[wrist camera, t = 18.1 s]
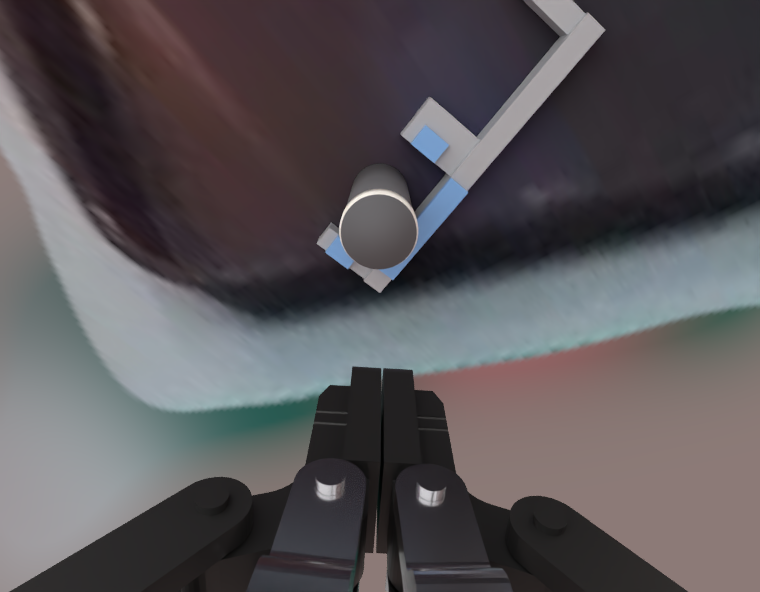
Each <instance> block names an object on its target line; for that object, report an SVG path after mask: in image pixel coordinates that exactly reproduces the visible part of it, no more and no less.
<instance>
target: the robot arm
mask: <svg viewBox="0 0 760 592" xmlns="http://www.w3.org/2000/svg"><path fill="white" fill-rule="evenodd" d="M376 511H377V541H376V542H377V543H376V544H377V545H376V552H377V553H386V554H387V576H386V586H385V592H687V591H686V590H685V589H684V588H682V587H681V586H679V585H678V584H677V583H675V582H673V581H672V580H671V579H670V578H668V577H667V576H665V575H664V574H662V573H661V572H660V571H658V570H657V569H655V568H654V567H653V566H651V565H650V564H649V563H647V562H646V561H644V560H643V559H642V558H640V557H639V556H637V555H636V554H635V553H633V552H632V551H631V550H629V549H628V548H626V547H625V546H624V545H622V544H621V543H619V542H618V541H617V540H615V539H614V538H612V537H611V536H609V535H608V534H607V533H605V532H604V531H602V530H601V529H600V528H598V527H597V526H596V525H594V524H593V523H591V522H590V521H589V520H587V519H586V518H584V517H583V516H582V515H580V514H579V513H578V512H576V511H575V510H573V509H572V508H570V507H569V506H567V505H566V504H564V503H562V502H560V501H557V500H555V499H552V498H548V497H542V496H529V497H525V498H522V499H520V500H518V501H517V502H515V503H514V505H513V506H512V508H511V510H507V509H504V508H501V507H497V506H494V505H491V504H488V503H486V502H483V501H481V500H479V499H477V498H476V497H474V496H472V495H471V494H470V493H469V492H468V491H467V488H466V486H465V483H464V482H463V480H462V479H461V478H460V477H459V476H458V475H457V474H456V471H455V465H454V460H453V454H452V449H451V443H450V438H449V433H448V427H447V421H446V416H445V411H444V406H443V403H442V402H441V400H440V399H439V398H438V397H437V396H436V395H435V393H434V392H433V391H422V390H414V380H413V371H412V370H403V369H386V368H384V369H383V379H382V391H381V368H368V367H352V377H351V386H337V385H330V386H329V387H328V388H327V389H326V390H325V391H324V392H323V393H322V394H321V395H320V396H319V399H318V404H317V409H316V414H315V420H314V424H313V430H312V435H311V440H310V444H309V449H308V455H307V460H306V464H305V466H304V467H303V468H301V469H300V470H299V472H298V473H297V475H296V477H295V479H294V482H293V483H291V484H290V485H288V486H286V487H284V488H282V489H279V490H277V491H273V492H269V493H264V494H258V495H253V496H252V495H251V492H250V490H249V489H248V487H247V486H246V485H245V484H243V483H241V482H240V481H238V480H235V479H232V478H227V477H214V478H208V479H203V480H200V481H198V482H195V483H193V484H191V485H190V486H188V487H186V488H185V489H183V490H181V491H179V492H178V493H176V494H174V495H172V496H171V497H169V498H167V499H166V500H164V501H162V502H161V503H159V504H157V505H156V506H154V507H152V508H150V509H149V510H147V511H145V512H144V513H142V514H140V515H139V516H137V517H135V518H134V519H132V520H130V521H128V522H127V523H125V524H123V525H122V526H120V527H118V528H117V529H115V530H113V531H112V532H110V533H108V534H106V535H105V536H103V537H102V538H100V539H98V540H96V541H95V542H93V543H91V544H90V545H88V546H86V547H85V548H83V549H81V550H80V551H78V552H76V553H74V554H73V555H71V556H69V557H68V558H66V559H64V560H62V561H61V562H59V563H57V564H56V565H54V566H52V567H51V568H49V569H47V570H46V571H44V572H42V573H40V574H39V575H37V576H35V577H34V578H32V579H30V580H29V581H27V582H25V583H24V584H22V585H20V586H18V587H17V588H15V589H13V590H12V591H10V592H359V581H360V579H361V577H362V574H363V570H364V558H365V553H373V548H374V536H375V523H376Z"/></svg>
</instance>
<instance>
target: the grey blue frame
mask: <svg viewBox="0 0 760 592" xmlns="http://www.w3.org/2000/svg"><path fill="white" fill-rule="evenodd" d="M523 1H524V2H525V3H526V4H527V5H528V6H529V7H530V8H531V9H532V10H533V11H534V12H535V13H536V14H537V15H538V16H539V17H540V18H541V19H542V20H543V21H544V22H545V23H546V24H548V25H549V26H550V27H551V28H552V29H553V30H554V31H555V32H556V33H557V34H558V35H559V36H560V37H559V39H558V40H557V41H556V42H555V43H554V45H553V46H552V47H551V48H550V49H549V51H548V52H547V53H546V54H545V55H544V57H543V58H542V59H541V60H540V61H539V63H538V64H537V65H536V66H535V67H534V69H533V70H532V71H531V72H530V73H529V75H528V76H527V77H526V78H525V79H524V81H523V82H522V83H521V84H520V85H519V87H518V88H517V89H516V90H515V91H514V93H513V94H512V95H511V96H510V97H509V99H508V100H507V101H506V102H505V103H504V105H503V106H502V107H501V108H500V109H499V111H498V112H497V113H496V114H495V115H494V117H493V118H492V119H491V120H490V121H489V123H488V124H487V125H486V126H485V127H484V129H483V130H482V131H481V132H480V133H479V135H478V136H477V137H476V136H475V135H473V134H472V133H471V132H470V131H469V130H468V129H467V128H465V127H464V126H463V125H462V124H461V123H460V122H458V121H457V120H456V119H455V118H454V117H453V116H452V115H450V114H449V113H448V112H447V111H446V110H445V109H444V108H442V107H441V106H440V105H439V104H438V103H437V102H436V101H434V100H433V99H432V98H431V97H428V99H427V100H426V101H425V102H424V104H423V105H422V106H421V108H420V109H419V110H418V111H417V113H416V114H415V115H414V117H413V118H412V119H411V120H410V122H409V123H408V124H407V126H406V127H405V128H404V129H403V131H402V132H401V135H402V136H403V137H404V138H405V139H406V140H407V141H409V142H410V143H411V144H412V145H413V146H414V147H415V148H416V149H418V150H419V151H420V152H421V153H422V154H424V155H425V156H426V157H427V158H428V159H430V160H431V161H432V162H433V163H435V164H436V165H437V166H439V167H440V168H441V169H442V170H443V171H445V172H446V174H445V176H444V177H443V178H442V179H441V180H440V182H439V183H438V184H437V185H436V186H435V188H434V189H433V190H432V191H431V192H430V194H429V195H428V196H427V197H426V198H425V200H424V201H423V202H422V203H421V204H420V206H419V207H418V208H417V209H416V210H415V215H416V219H417V223H418V239H417V243H416V245H415V248H414V249H413V251H412V253H411V254H410V255H409V256H408V257H407V258H406V259H405V260H404V261H403V262H401V263H400V264H398V265H396V266H394V267H391V268H387V269H370V268H367V267H364V266H362V265H360V264H358V263H356V262H355V261H354V260H352V259H351V258H350V257H349V256H348V254H347V253H346V252H345V250H344V248H343V246H342V244H341V241H340V236H339V228H338V227H337V226H335V225H334V224H333V223H330V225H329V226H328V227H327V228H326V230H325V231H324V232H323V234H322V235H321V236H320V237H319V239H318V242H317V244H318V245H319V246H321V247H322V248H323V249H325V250H326V252H325V253H326V254H328V255H329V256H331V257H332V258H333V259H335V260H336V261H337V262H339V263H340V264H341V265H343V266H344V267H345V268H347V269H348V268H350V269H352V270H353V271H354V272H356V273H357V274H358V275H360V276H361V277H362V278H364V282H366V283H367V284H368V285H370V286H371V287H372V288H374V289H375V290H377V291H378V292H379V293H380V292H381V291H382V290H383V289H384V288H385V287H386V285H387V284H388V283H389V282H390V281H391V280H394V279H395V277H396V276H397V275H398V274H399V273H400V272H401V270H402V269H403V268H404V267H405V266H406V265H407V263H408V262H409V261H410V260H411V259H412V258H413V256H414V255H415V254H416V253H417V252H418V251H419V249H420V248H421V247H422V246H423V245H424V244H425V242H426V241H427V240H428V239H429V238H430V237H431V236H432V234H433V233H434V232H435V231H436V230H437V229H438V227H439V226H440V225H441V224H442V223H443V222H444V220H445V219H446V218H447V217H448V216H449V215H450V213H451V212H452V211H453V210H454V209H455V208H456V206H457V205H458V204H459V203H460V202H461V201H462V199H463V198H464V197H465V196H466V195H467V194H468V190H469V189H470V187H471V186H472V185H473V184H474V183H475V182H476V180H477V179H478V178H479V177H480V176H481V175H482V173H483V172H484V171H485V170H486V169H487V168H488V166H489V165H490V164H491V163H492V162H493V161H494V159H495V158H496V157H497V156H498V155H499V154H500V152H501V151H502V150H503V149H504V148H505V147H506V145H507V144H508V143H509V142H510V141H511V140H512V138H513V137H514V136H515V135H516V134H517V132H518V131H519V130H520V129H521V128H522V127H523V125H524V124H525V123H526V122H527V121H528V120H529V118H530V117H531V116H532V115H533V114H534V113H535V111H536V110H537V109H538V108H539V107H540V106H541V104H542V103H543V102H544V101H545V100H546V99H547V97H548V96H549V95H550V94H551V93H552V92H553V90H554V89H555V88H556V87H557V86H558V85H559V83H560V82H561V81H562V80H563V79H564V78H565V76H566V75H567V74H568V73H569V72H570V71H571V69H572V68H573V67H574V66H575V65H576V64H577V62H578V61H579V60H580V59H581V58H582V57H583V55H584V54H585V53H586V52H587V51H588V50H589V48H590V47H591V46H592V45H593V44H594V43H595V41H596V40H597V39H598V38H599V37H600V36H601V34H602V33H603V32H604V31H605V29H604V28H603V27H602V26H601V25H600V24H599V23H598V22H597V21H596V20H595V19H594V18H593V17H592V16H591V15H590V14H589V13H586V14H585V13H584V12H583V11H582V10H581V9H580V8H579V7H578V6H577V5H576V4H575V3H574V2H573V1H572V0H523Z"/></svg>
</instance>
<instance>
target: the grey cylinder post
mask: <svg viewBox="0 0 760 592" xmlns="http://www.w3.org/2000/svg"><path fill="white" fill-rule="evenodd" d="M339 236H340V241H341V244H342V246H343V248H344V250H345V252H346V253H347V254H348V256H349V257H350V258H351V259H352V260H354V261H355V262H356V263H358V264H360V265H362V266H364V267H367V268H370V269H387V268H391V267H394V266H396V265H398V264H400V263H401V262H403V261H404V260H405V259H406V258H407V257H408V256H409V255H410V254H411V253H412V251H413V249H414V248H415V245H416V243H417V239H418V223H417V219H416V215H415V212H414V210H413V208H412V205H411V200H410V196H409V191H408V187H407V183H406V181H405V178H404V177H403V175H402V174H401V173H400V172H399V171H398V170H397V169H396V168H394V167H392V166H390V165H387V164H373V165H370V166H367V167H366V168H364V169H363V170H361V171H360V172H359V174H358V175H357V176H356V178H355V180H354V182H353V185H352V189H351V192H350V196H349V200H348V203H347V206H346V208H345V210H344V212H343V214H342V217H341V221H340V226H339Z"/></svg>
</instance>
